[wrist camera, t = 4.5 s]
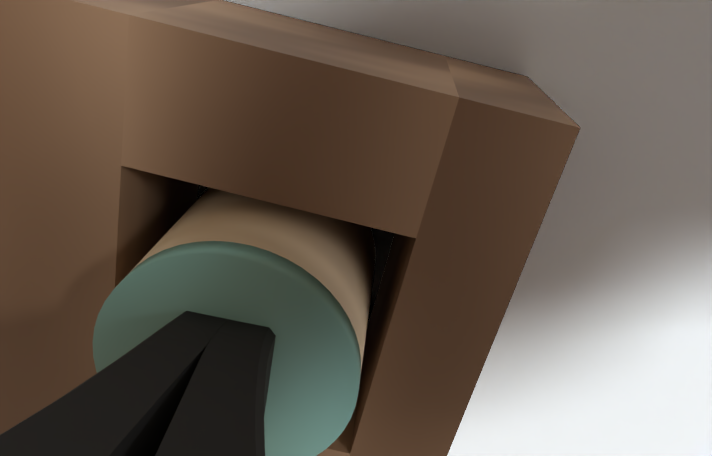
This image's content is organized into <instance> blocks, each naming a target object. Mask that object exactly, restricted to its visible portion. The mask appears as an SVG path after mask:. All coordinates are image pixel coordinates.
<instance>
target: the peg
mask: <svg viewBox="0 0 712 456" xmlns="http://www.w3.org/2000/svg"><path fill="white" fill-rule="evenodd" d="M375 259H376V250H375V241H374V237H373V233H372V230H371V227H368V226H363V225H359V224H355V223H351V222H347V221H343V220H339V219H335V218H331V217H327V216H323V215H319V214H315V213H311V212H307V211H303V210H299V209H295V208H291V207H287V206H283V205H279V204H275V203H270V202H266V201H262V200H258V199H254V198H250V197H246V196H242V195H238V194H234V193H230V192H226V191H222V190H218V189H214V188H210V187H209V188H208V189H207V190H206V191H205V192H204V193H203V194H202V195H201V196H200V198H199V199H198V200H197V201H196V202H195V203H194V204H193V205H192V206H191V207H190V208H189V209H188V210H187V211H186V213H185V214H184V215H183V216H182V217H181V218H180V219H179V220H178V221H177V222H176V223H175V224H174V225H173V226H172V228H171V229H170V230H169V231H168V232H167V233H166V234H165V235H164V236H163V237H162V238H161V239H160V240H159V241H158V243H157V244H156V245H155V246H154V247H153V248H152V249H151V250H150V251H149V252H148V253H147V254H146V255H145V256H144V258H143V259H142V260H141V261H140V262H139V263H138V264H137V265H136V266H135V267H134V268H133V269H132V270H131V271H130V273H129V274H128V275H127V276H126V277H125V278H124V279H123V280H122V281H121V282H120V283H119V284H118V285H117V286H116V288H115V289H114V290H113V291H112V292H111V294H110V295H109V296H108V298H107V299H106V300H105V302H104V304H103V306H102V308H101V310H100V312H99V314H98V317H97V320H96V324H95V327H94V334H93V358H94V363H95V368H96V372H97V373H98V372H99V371H101V370H102V369H104V368H105V367H107V366H108V365H110V364H111V363H113V362H114V361H116V360H117V359H118V358H120V357H121V356H123V355H124V354H126V353H127V352H128V351H130V350H131V349H133V348H134V347H135V346H137V345H138V344H140V343H141V342H142V341H144V340H145V339H147V338H148V337H149V336H151V335H152V334H154V333H155V332H156V331H158V330H159V329H161V328H162V327H163V326H165V325H166V324H167V323H169V322H170V321H172V320H173V319H175V318H176V317H178V316H179V315H181V314H182V313H184V312H185V311H191V312H196V313H201V314H206V315H211V316H215V317H220V318H225V319H230V320H235V321H240V322H245V323H250V324H255V325H260V326H265V327H269V328H270V329H271V330H272V331H273V333H274V334H275V335H276V338H275V345H274V352H273V359H272V366H271V373H270V380H269V387H268V394H267V401H266V408H265V415H264V434H265V456H317V455H318V454H320V453H321V452H323V451H324V450H325V449H327V448H328V447H329V446H330V445H331V444H332V443H333V442H334V441H335V440H336V439H337V438H338V437H339V436H340V434H341V433H342V432H343V431H344V429H345V428H346V426H347V424H348V422H349V421H350V419H351V417H352V414H353V411H354V409H355V406H356V402H357V397H358V391H359V384H360V376H361V369H362V361H363V354H364V346H365V338H366V331H367V323H368V316H369V308H370V300H371V293H372V285H373V278H374V270H375Z"/></svg>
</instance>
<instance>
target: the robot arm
mask: <svg viewBox="0 0 712 456" xmlns="http://www.w3.org/2000/svg"><path fill="white" fill-rule="evenodd" d="M275 338H276V335H275V334H274V333H273V331H272V330H271V329H270V328H269V327H265V326H260V325H255V324H250V323H245V322H240V321H235V320H230V319H225V318H220V317H215V316H211V315H206V314H201V313H196V312H191V311H185V312H184V313H182V314H181V315H179V316H178V317H176V318H175V319H173V320H172V321H170V322H169V323H167V324H166V325H165V326H163V327H162V328H161V329H159V330H158V331H156V332H155V333H154V334H152V335H151V336H149V337H148V338H147V339H145V340H144V341H142V342H141V343H140V344H138V345H137V346H135V347H134V348H133V349H131V350H130V351H128V352H127V353H126V354H124V355H123V356H121V357H120V358H118V359H117V360H116V361H114V362H113V363H111V364H110V365H108V366H107V367H105V368H104V369H102V370H101V371H99V372H98V373H96V374H95V375H93V376H92V377H90V378H89V379H88V380H86V381H85V382H83V383H82V384H80V385H79V386H77V387H76V388H74V389H73V390H71V391H70V392H68V393H67V394H65V395H64V396H62V397H61V398H59V399H57V400H56V401H54V402H53V403H51V404H50V405H48V406H46V407H45V408H43V409H41V410H40V411H38V412H36V413H35V414H33V415H32V416H30V417H28V418H27V419H25V420H23V421H22V422H20V423H19V424H17V425H15V426H14V427H12V428H10V429H9V430H7V431H5V432H4V433H2V434H1V435H0V456H265V434H264V415H265V408H266V401H267V394H268V387H269V380H270V373H271V366H272V359H273V352H274V345H275Z"/></svg>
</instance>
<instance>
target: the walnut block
mask: <svg viewBox="0 0 712 456" xmlns="http://www.w3.org/2000/svg"><path fill="white" fill-rule="evenodd" d="M579 130H580V127H579V126H578V125H577V124H576V123H575V122H574V121H573V120H572V119H571V118H570V117H569V116H568V115H567V114H566V113H565V112H564V111H563V110H562V109H560V108H559V107H558V106H557V105H556V104H555V103H554V102H553V101H552V100H551V99H550V98H549V97H548V96H547V95H546V94H545V93H544V92H543V91H542V90H541V89H540V88H539V87H538V86H537V85H536V84H535V83H534V82H533V81H532V80H530V79H529V78H528V77H527V76H523V75H519V74H515V73H511V72H507V71H503V70H499V69H495V68H491V67H487V66H483V65H479V64H475V63H471V62H467V61H463V60H459V59H455V58H451V57H447V56H443V55H439V54H435V53H431V52H427V51H423V50H419V49H415V48H411V47H407V46H403V45H399V44H395V43H391V42H387V41H383V40H379V39H375V38H371V37H367V36H363V35H359V34H355V33H351V32H347V31H343V30H339V29H335V28H331V27H327V26H323V25H319V24H315V23H311V22H307V21H303V20H299V19H295V18H291V17H287V16H284V15H280V14H276V13H272V12H268V11H264V10H260V9H256V8H252V7H248V6H244V5H240V4H236V3H232V2H228V1H224V0H0V435H1V434H2V433H4V432H5V431H7V430H9V429H10V428H12V427H14V426H15V425H17V424H19V423H20V422H22V421H23V420H25V419H27V418H28V417H30V416H32V415H33V414H35V413H36V412H38V411H40V410H41V409H43V408H45V407H46V406H48V405H50V404H51V403H53V402H54V401H56V400H57V399H59V398H61V397H62V396H64V395H65V394H67V393H68V392H70V391H71V390H73V389H74V388H76V387H77V386H79V385H80V384H82V383H83V382H85V381H86V380H88V379H89V378H90V377H92V376H93V375H95V374H96V373H97V372H96V368H95V363H94V358H93V334H94V327H95V324H96V320H97V317H98V314H99V312H100V310H101V308H102V306H103V304H104V302H105V300H106V299H107V298H108V296H109V295H110V294H111V292H112V291H113V290H114V289H115V288H116V286H117V285H118V284H119V283H120V282H121V281H122V280H123V279H124V278H125V277H126V276H127V275H128V274H129V273H130V271H131V270H132V269H133V268H134V267H135V266H136V265H137V264H138V263H139V262H140V261H141V260H142V259H143V258H144V256H145V255H146V254H147V253H148V252H149V251H150V250H151V249H152V248H153V247H154V246H155V245H156V244H157V243H158V241H159V240H160V239H161V238H162V237H163V236H164V235H165V234H166V233H167V232H168V231H169V230H170V229H171V228H172V226H173V225H174V224H175V223H176V222H177V221H178V220H179V219H180V218H181V217H182V216H183V215H184V214H185V213H186V211H187V210H188V209H189V208H190V207H191V206H192V205H193V204H194V203H195V202H196V201H197V195H198V186H199V185H202V186H206V187H210V188H214V189H218V190H222V191H226V192H230V193H234V194H238V195H242V196H246V197H250V198H254V199H258V200H262V201H266V202H270V203H275V204H279V205H283V206H287V207H291V208H295V209H299V210H303V211H307V212H311V213H315V214H319V215H323V216H327V217H331V218H335V219H339V220H343V221H347V222H351V223H355V224H359V225H363V226H368V227H372V228H376V229H380V230H384V231H388V232H392V233H394V236H393V240H392V243H391V247H390V250H389V254H388V257H387V261H386V264H385V268H384V271H383V275H382V278H381V282H380V285H379V289H378V292H377V296H376V299H375V303H374V306H373V310H372V313H371V317H370V320H369V324H368V327H367V331H366V338H365V346H364V354H363V361H362V369H361V376H360V384H359V391H358V397H357V402H356V406H355V409H354V411H353V414H352V417H351V419H350V421H349V422H348V424H347V426H346V428H345V429H344V431H343V432H342V433H341V434H340V436H339V437H338V438H337V439H336V440H335V441H334V442H333V443H332V444H331V445H330V446H329V447H328V448H327V449H325V450H324V451H323V452H321V453H320V454H318V455H317V456H447V454H448V452H449V449H450V447H451V444H452V442H453V440H454V437H455V435H456V432H457V430H458V427H459V425H460V422H461V420H462V417H463V415H464V412H465V410H466V408H467V405H468V403H469V400H470V398H471V395H472V393H473V390H474V388H475V385H476V383H477V381H478V378H479V376H480V373H481V371H482V368H483V366H484V363H485V361H486V358H487V356H488V353H489V351H490V349H491V346H492V344H493V341H494V339H495V336H496V334H497V331H498V329H499V326H500V324H501V322H502V319H503V317H504V314H505V312H506V309H507V307H508V304H509V302H510V299H511V297H512V294H513V292H514V290H515V287H516V285H517V282H518V280H519V277H520V275H521V272H522V270H523V267H524V265H525V263H526V260H527V258H528V255H529V253H530V250H531V248H532V245H533V243H534V240H535V238H536V235H537V233H538V231H539V228H540V226H541V223H542V221H543V218H544V216H545V213H546V211H547V208H548V206H549V204H550V201H551V199H552V196H553V194H554V191H555V189H556V186H557V184H558V181H559V179H560V176H561V174H562V172H563V169H564V167H565V164H566V162H567V159H568V157H569V154H570V152H571V149H572V147H573V145H574V142H575V140H576V137H577V135H578V132H579Z"/></svg>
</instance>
